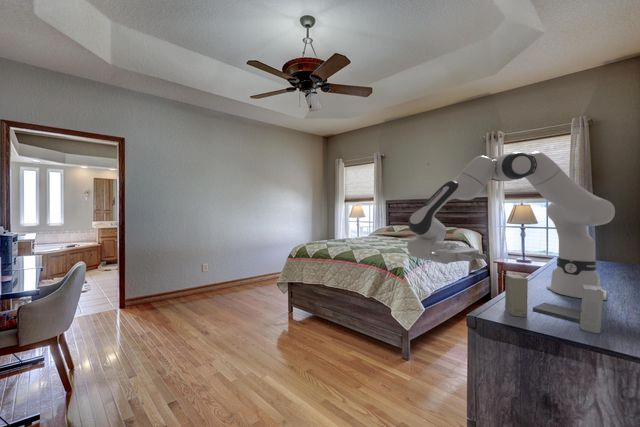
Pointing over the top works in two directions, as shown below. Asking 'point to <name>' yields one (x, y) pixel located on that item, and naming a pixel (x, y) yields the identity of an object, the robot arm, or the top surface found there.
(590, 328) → the skincare box
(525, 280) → the skincare box
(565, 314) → the charcoal mat
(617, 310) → the top surface
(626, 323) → the top surface
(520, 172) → the robot arm
